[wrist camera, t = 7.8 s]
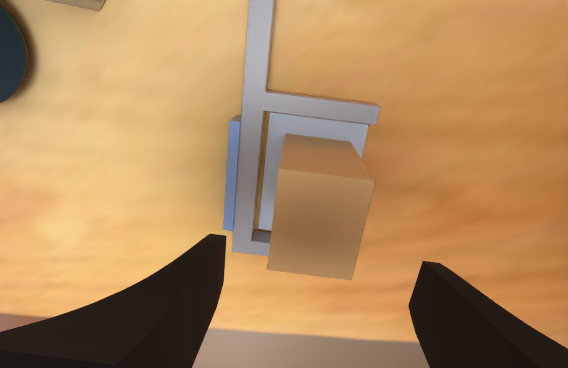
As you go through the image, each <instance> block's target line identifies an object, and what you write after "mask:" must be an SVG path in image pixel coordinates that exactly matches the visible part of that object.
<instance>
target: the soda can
mask: <svg viewBox="0 0 568 368" xmlns="http://www.w3.org/2000/svg"><path fill="white" fill-rule="evenodd" d="M27 67H28V50H27V45H26V42H25V39H24V36H23V34H22V32H21V30H20V28H19V26H18V25H17V23H16V22H15V20H14V19H13V18H12V16H11V15H10V14H9V13H8V12H7V11H6V10H5V9H4V8H3V7H2V6H1V4H0V103H1V102H3V101H5V100H6V99H7V98H9V97H10V96H11V95H12V94H13V93H14V92H15V90H16V89H17V88H18V86H19V85H20V83H21V82H22V80H23V78H24V76H25V74H26V71H27Z"/></svg>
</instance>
